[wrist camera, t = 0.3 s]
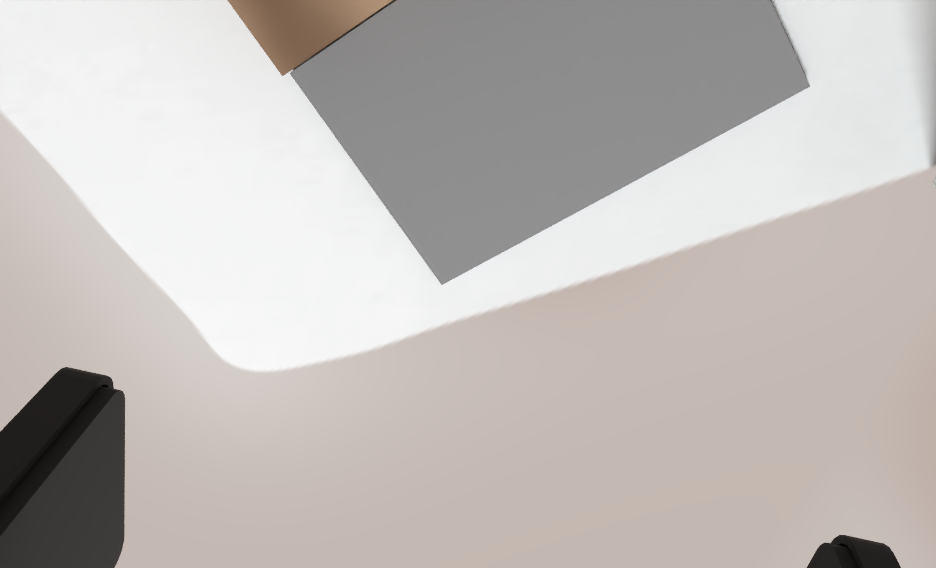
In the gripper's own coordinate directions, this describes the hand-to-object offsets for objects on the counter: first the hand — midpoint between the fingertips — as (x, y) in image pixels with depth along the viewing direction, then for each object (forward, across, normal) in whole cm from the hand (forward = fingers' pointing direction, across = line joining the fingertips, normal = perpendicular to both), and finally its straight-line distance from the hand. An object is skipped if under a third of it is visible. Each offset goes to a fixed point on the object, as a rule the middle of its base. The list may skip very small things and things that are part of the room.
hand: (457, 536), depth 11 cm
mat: (+30, -1, +1) cm, 30 cm away
